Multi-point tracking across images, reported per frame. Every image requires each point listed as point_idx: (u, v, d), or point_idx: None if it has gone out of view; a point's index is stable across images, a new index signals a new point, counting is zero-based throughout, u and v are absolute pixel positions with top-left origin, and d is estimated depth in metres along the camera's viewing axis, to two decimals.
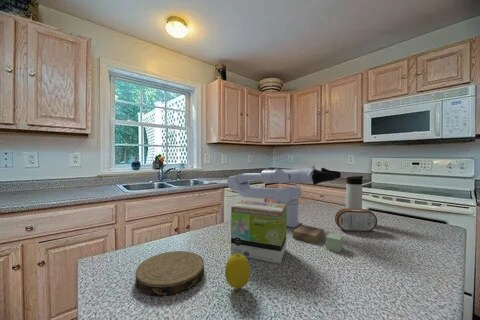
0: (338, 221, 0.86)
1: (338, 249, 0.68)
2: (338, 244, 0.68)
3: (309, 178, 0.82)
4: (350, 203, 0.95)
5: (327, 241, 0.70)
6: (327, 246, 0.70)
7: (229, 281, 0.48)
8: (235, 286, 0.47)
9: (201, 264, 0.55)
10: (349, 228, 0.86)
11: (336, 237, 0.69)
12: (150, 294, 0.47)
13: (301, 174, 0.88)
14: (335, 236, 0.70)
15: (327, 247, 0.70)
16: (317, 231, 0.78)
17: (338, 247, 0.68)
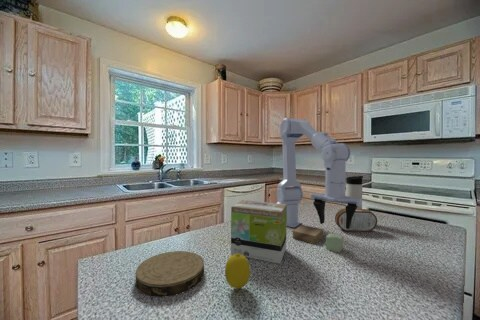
0: (338, 221, 0.86)
1: (338, 249, 0.68)
2: (338, 244, 0.68)
3: None
4: None
5: (327, 241, 0.70)
6: (327, 246, 0.70)
7: (229, 281, 0.48)
8: (235, 286, 0.47)
9: (201, 264, 0.55)
10: (349, 228, 0.86)
11: (336, 237, 0.69)
12: (150, 294, 0.47)
13: (325, 184, 0.71)
14: (335, 236, 0.70)
15: (327, 247, 0.70)
16: (317, 231, 0.78)
17: (338, 247, 0.68)
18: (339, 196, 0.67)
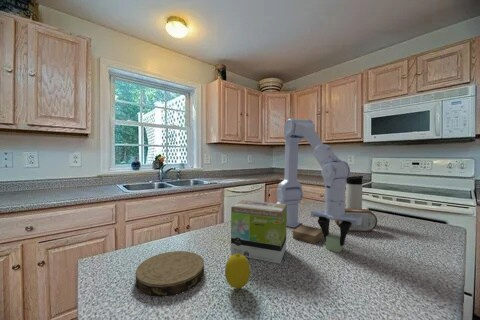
0: (338, 221, 0.86)
1: (338, 249, 0.68)
2: (338, 244, 0.68)
3: None
4: (350, 203, 0.95)
5: (327, 241, 0.70)
6: (327, 246, 0.70)
7: (229, 281, 0.48)
8: (235, 286, 0.47)
9: (201, 264, 0.55)
10: (349, 228, 0.86)
11: (336, 237, 0.69)
12: (150, 294, 0.47)
13: (325, 201, 0.71)
14: (335, 236, 0.70)
15: (327, 247, 0.70)
16: (317, 231, 0.78)
17: (338, 247, 0.68)
18: (339, 214, 0.67)
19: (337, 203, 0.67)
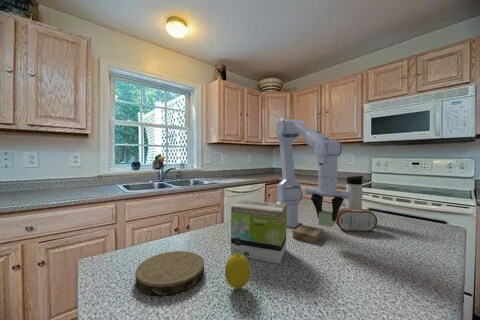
0: (338, 221, 0.86)
1: (330, 224, 0.70)
2: (330, 219, 0.70)
3: None
4: (350, 203, 0.95)
5: (320, 217, 0.72)
6: (319, 221, 0.72)
7: (229, 281, 0.48)
8: (235, 286, 0.47)
9: (201, 264, 0.55)
10: (349, 228, 0.86)
11: (328, 213, 0.72)
12: (150, 294, 0.47)
13: (318, 179, 0.73)
14: (328, 212, 0.72)
15: (320, 222, 0.72)
16: (317, 231, 0.78)
17: (330, 222, 0.70)
18: (331, 190, 0.69)
19: (329, 179, 0.69)
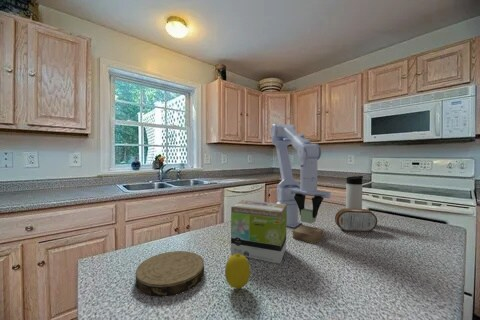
0: (338, 221, 0.86)
1: (311, 220, 0.77)
2: (311, 216, 0.77)
3: None
4: (350, 203, 0.95)
5: (302, 214, 0.79)
6: (301, 218, 0.79)
7: (229, 281, 0.48)
8: (235, 286, 0.47)
9: (201, 264, 0.55)
10: (349, 228, 0.86)
11: (309, 210, 0.78)
12: (150, 294, 0.47)
13: (300, 179, 0.80)
14: (309, 210, 0.79)
15: (302, 219, 0.79)
16: (317, 231, 0.78)
17: (311, 218, 0.77)
18: (311, 190, 0.76)
19: (309, 180, 0.76)
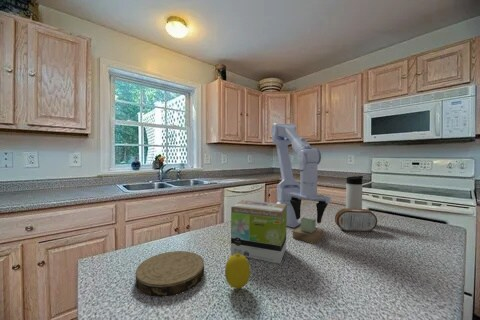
0: (338, 221, 0.86)
1: (310, 229, 0.77)
2: (310, 225, 0.77)
3: None
4: (350, 203, 0.95)
5: (301, 223, 0.79)
6: (301, 227, 0.79)
7: (229, 281, 0.48)
8: (235, 286, 0.47)
9: (201, 264, 0.55)
10: (349, 228, 0.86)
11: (309, 219, 0.79)
12: (150, 294, 0.47)
13: (300, 184, 0.80)
14: (309, 219, 0.79)
15: (301, 228, 0.79)
16: (317, 231, 0.78)
17: (310, 228, 0.77)
18: (311, 194, 0.76)
19: (309, 185, 0.76)
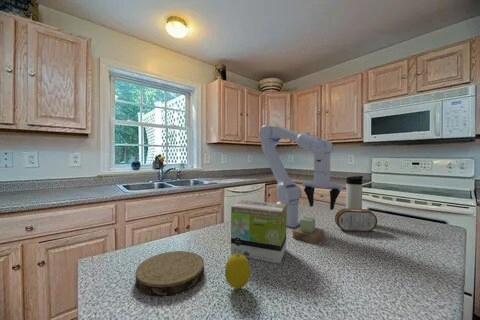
0: (338, 221, 0.86)
1: (310, 230, 0.77)
2: (310, 225, 0.77)
3: None
4: (350, 203, 0.95)
5: (301, 223, 0.79)
6: (301, 227, 0.79)
7: (229, 281, 0.48)
8: (235, 286, 0.47)
9: (201, 264, 0.55)
10: (349, 228, 0.86)
11: (309, 219, 0.79)
12: (150, 294, 0.47)
13: (314, 173, 0.85)
14: (308, 219, 0.79)
15: (301, 228, 0.79)
16: (317, 231, 0.78)
17: (310, 228, 0.77)
18: (325, 182, 0.81)
19: (323, 173, 0.81)
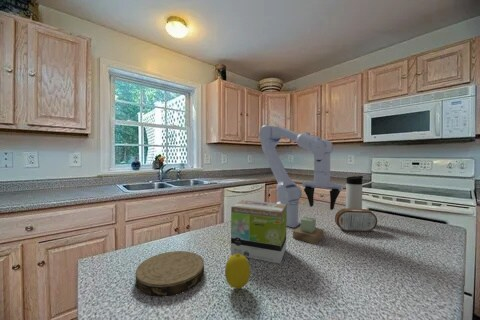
0: (338, 221, 0.86)
1: (310, 229, 0.77)
2: (310, 225, 0.77)
3: None
4: (350, 203, 0.95)
5: (301, 223, 0.79)
6: (301, 227, 0.79)
7: (229, 281, 0.48)
8: (235, 286, 0.47)
9: (201, 264, 0.55)
10: (349, 228, 0.86)
11: (309, 219, 0.79)
12: (150, 294, 0.47)
13: (314, 173, 0.85)
14: (309, 219, 0.79)
15: (301, 228, 0.79)
16: (317, 231, 0.78)
17: (310, 228, 0.77)
18: (325, 182, 0.81)
19: (323, 173, 0.81)
